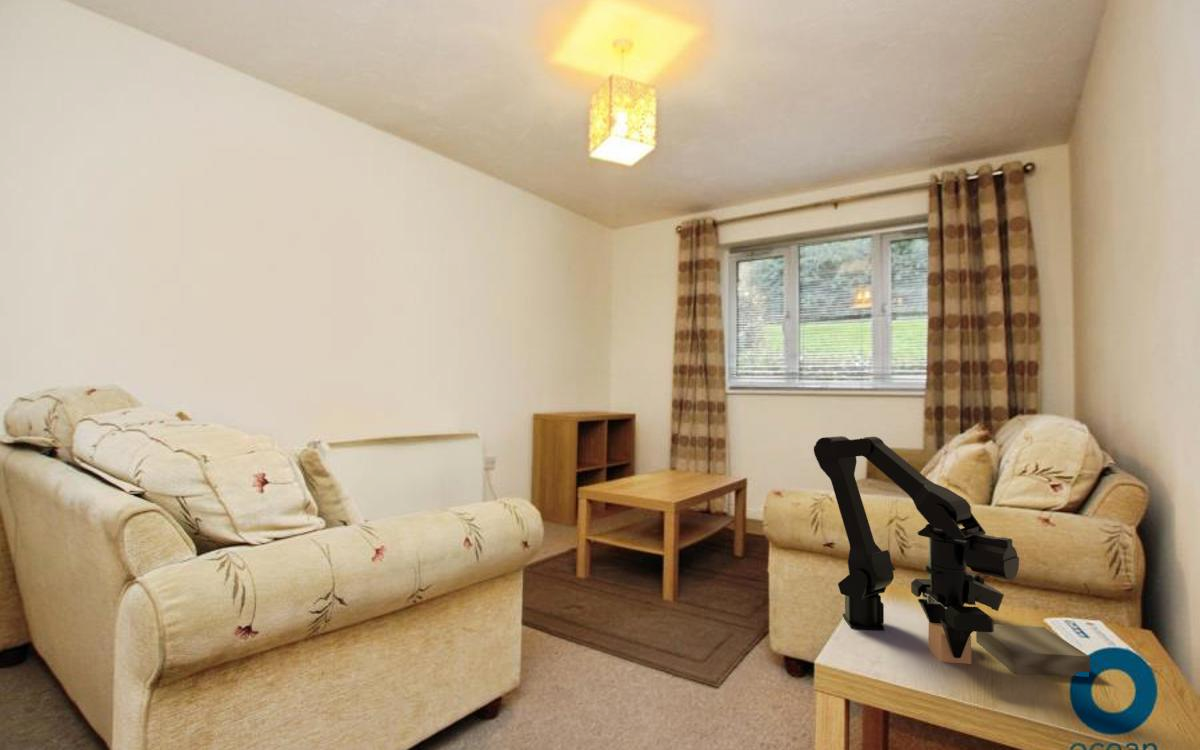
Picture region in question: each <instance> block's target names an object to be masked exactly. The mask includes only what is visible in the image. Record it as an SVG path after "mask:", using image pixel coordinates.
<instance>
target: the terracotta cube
mask: <svg viewBox="0 0 1200 750" xmlns="http://www.w3.org/2000/svg"><path fill="white" fill-rule="evenodd" d="M928 650H929V651H930V652H931V654H932V655H934V656H935V657H936V659H938V660H939V661H940V662H941V663H950V664H951V663H953V664H954V663H955V664H969V665H971V664H972V636H971V635H970V636H969V638H968V640H967V643H966V646H965V648H964V651H963V653H962V656H961V658H954V657H953V655H952V652H951V650H950V647H949V644H948V641H947V638H946V635H945V632H944V629H943V627H942V624H941V623H929V622H928Z"/></svg>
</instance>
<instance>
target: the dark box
mask: <svg viewBox="0 0 1200 750" xmlns="http://www.w3.org/2000/svg"><path fill="white" fill-rule="evenodd" d="M975 633H976V634H975V635H976V640H975V642H976V643H977V644H978V645H979V646H980V647H982V649H984V650H985V651H986V652H988V653H989V654H990V655H991V656H992V657H993V658H994V659H996V660H997V661H999V663H1001V664H1002V665H1003V666H1004V667H1006V668H1007V669H1008V670H1009V671H1010V672H1011V673H1013V674H1021V675H1022V674H1023V675H1035V676H1037V675H1039V676H1053V677H1054V676H1055V677H1068V676H1069V678H1073V677H1072V676H1074V675H1075V674H1076V673H1077V672H1090V673H1091V656H1090V655H1089V654H1087V653H1085V652H1083V651H1082V650H1080V649H1079V648H1077V647H1075V646H1074V645H1073V644H1072V643H1070V642H1068V641H1067V640H1065V639H1063V638H1062V637H1060V636H1059V635H1057V634H1056V633H1053V632H1052V631H1051V630H1049V629H1048V628H1047V627H1046V626H1045V627H1044V626H1032V625H1014V624H994V631H993V632H975Z"/></svg>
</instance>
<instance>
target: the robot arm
mask: <svg viewBox="0 0 1200 750" xmlns="http://www.w3.org/2000/svg"><path fill="white" fill-rule="evenodd" d="M813 454H814V457H815V459H816V461H817V463H818V465H819V467H820V469H821V470H822V471H823V473H825V475H826V476H827V477H828V478H829V480H830V481H831V486H832V488H833V492H834V495H835V499H836V503H837V506H838V510H839V512H840V516H841V519H842V522H843V523H842V524H843V527H844V529H845V533H846V537H847V541H848V543H849V552H848V557H847V558H848V559H847V566H848V568H847V569H848V574H847V576H845V577H844V578H843V579H841V580H840V581H839V582H838V583H837V585H838V589H839V592H840V594H841V595H843V596H844V613H842V617H843V619H844V620H845V621H846V623H847V624H848V625H849V627H850V628H851V629H863V630H879V631H883V630H885V626H884V625H883V624H884V623H885V618H884V612H885V611H884V610H885V609H884V607H885V604H884V603H883V602H882V597H881V595H880V594H884V593H885V592H886V589H887V587H888V586H889V585H891V584H892V582H893V580H894V578H895V577H894V575H895V574H894V571H896V568H895V566H894V565H893V562H892V559H891V553H890V551H889V550H888V549H886V550H885V549H884V550H881V548H880V547H879V546H878V545H877V544H876V542H875V540H874V536H873V533H872V530H871V526H870V523H869V519H868V516H867V514H866V509H865V507H864V503H863V499H862V496H861V493H860V490H859V487H858V483H857V480H856V477H855V472H856V466H857V461H858V460H857V457H864V458H865V459H866V460H867V461H869V462H870V463H871V464H872V465H873V466H874V467H875V468H877V469H878V470H879V471H880V472H881V473H882V474H884V475H885V476H886V477H887V478H888V479H889V480H890V481H892V482H893V483H894V484H895V485H896V486H898V487H899V488H900V489H901V490H902V491H903V492H904V493H906V494H907V495H908V496H909V498H911V500H912V501H913V503H914V506H915V508H916V510H917V512H919V513H920V515H921V516H922V517H923V519H924V520H926V522H927V524H926V525H925V526H924V527H923V528H922V529H920V530H918V531H917V535H918V536H920V537H924V538H928V539H929V538H930V566H928V565H925V571H926V572H927V573H928V574H929V573H930V579H929V578H915V579H913V581H911V583H910V584H911V585H910V593H912V594H913V595H914V596H915V597H917V598H918V599H917V601H918V603H919V604H920V607H921V609H922V611H923V613H924V614H925V616H926V620H927V621H928V624H929V623H941V624H942V627H943V629H944V632H945V635H946V638H947V641H948V644H949V647H950V650H951V652H952V655H953V657H954V658H961V656H962V653H963V651H964V648H965V646H966V643H967V640H968V638H969V636H971V634H972V633H974V632H975V633H976V632H993V631H994V622H995V621H994V619H993V618H992V617H991V616H990V615H989V614H987V612H985V611H984V610H982V609H980V608H979V607H978V606H976V603H978V604H981V605H983V606H987V607H989V608H990V609H992V610H994V611H995V612H998V611H999V610H1000V606H1001V604H1002V601H1003V599H1004V596H1005V594H1004V593H1002V592H1000V590H998V589H996V588H994V587H993V586H990V585H988V584H986V583H985V578H984V577H982V576H981V575H979V574H983V575H987V576H989V577H990V576H991V577H993V578H994V577H995V578H998V579H1003V580H1007V581H1014V579H1015V578H1016V577H1017V575H1018V572H1019V568H1020V557H1019V556H1018V553H1017V549H1016V548H1015V547H1014V546H1013V539H1012V538H1010V537H1009V538H1008V537H1001V536H1000V537H997V536H992V535H987V533H986V531H985V529H984V528H983V527H982V525H981V524H980V523H979V521H978V520H977V519H976V517H975V516H974V514H973V513H972V510H971V505H970V502H968V501H967V500H966V499H965V498H964V497H963V496H961V495H959V494H957V493H956V492H954V491H952V490H951V489H949V488H947V487H944V486H943V485H942V486H941V485H939V484H937V483H934V482H933V481H932V480H930V479H929V478H927V477H926V476H924V475H923V474H922V473H921V472H919V470H917V469H916V468H915V467H914V466H912V465H911V464H910V463H909V462H907V461H906V460H905V459H904V458H903V457H901V456H900V455H899V454H897V452H896V451H894V450H892V449H891V448H890V447H889V446H888V445H886V444H885V442H884V441H883V439H881V438H879V437H877V436H865V437H860V438H855V439H849V438H848V437H846V436H842V435H841V436H840V435H839V436H825V437H820V438H818V439H817V441H816V442H815V445H814V446H813ZM960 526H962V527H963V528H960ZM968 568H969V569H970V570H971V571H973V572H971V573H969V572H968V570H967V569H968ZM974 572H975V573H974ZM976 573H979V574H976ZM921 596H922V598H921ZM919 597H920V598H919ZM966 604H967V605H969V606H966ZM971 605H972V606H971ZM974 605H975V606H974Z"/></svg>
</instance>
